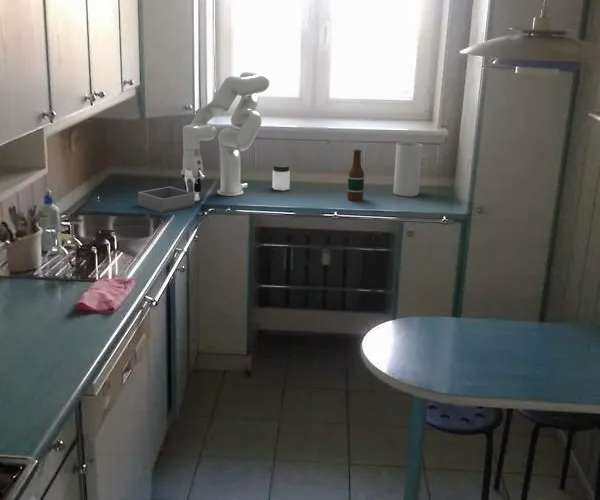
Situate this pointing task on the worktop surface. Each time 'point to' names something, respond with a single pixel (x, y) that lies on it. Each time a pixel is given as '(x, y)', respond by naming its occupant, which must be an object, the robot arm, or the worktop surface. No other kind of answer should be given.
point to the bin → (166, 199)
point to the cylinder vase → (407, 169)
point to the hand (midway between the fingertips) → (192, 190)
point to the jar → (281, 177)
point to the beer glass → (191, 183)
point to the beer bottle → (355, 178)
